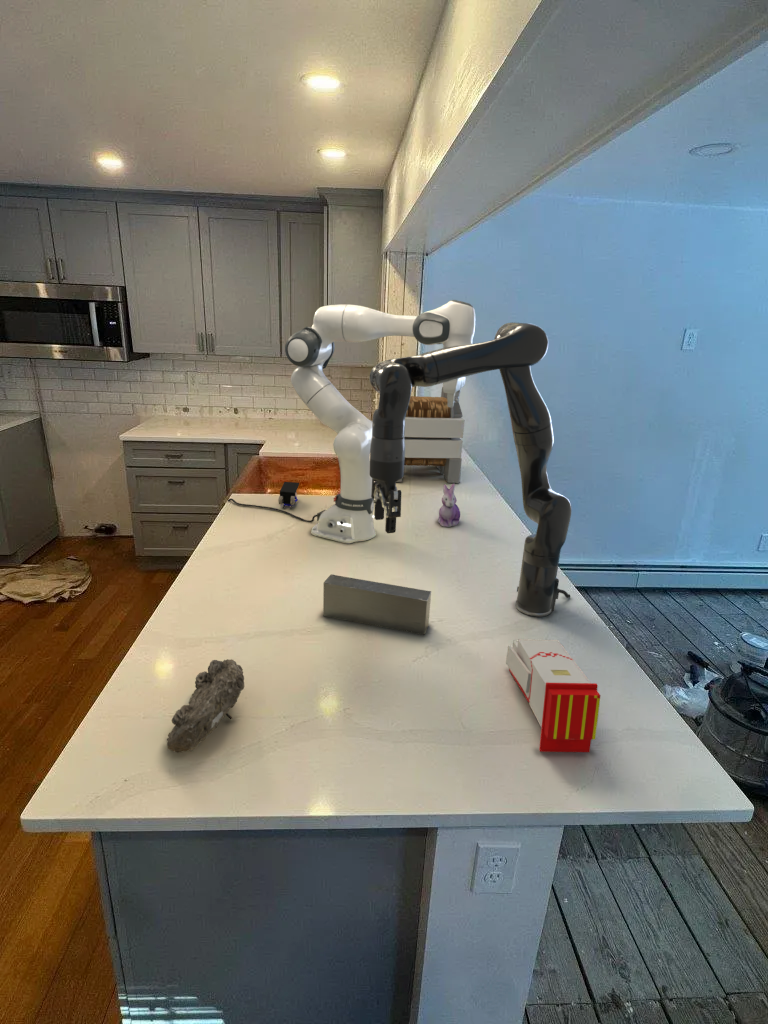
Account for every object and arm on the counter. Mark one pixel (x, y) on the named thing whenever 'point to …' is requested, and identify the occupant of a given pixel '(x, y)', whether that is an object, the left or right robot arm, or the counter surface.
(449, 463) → the transformer
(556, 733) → the toy
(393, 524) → the right robot arm
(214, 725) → the fossil
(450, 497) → the figurine
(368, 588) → the bar
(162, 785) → the counter surface
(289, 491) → the figurine character
